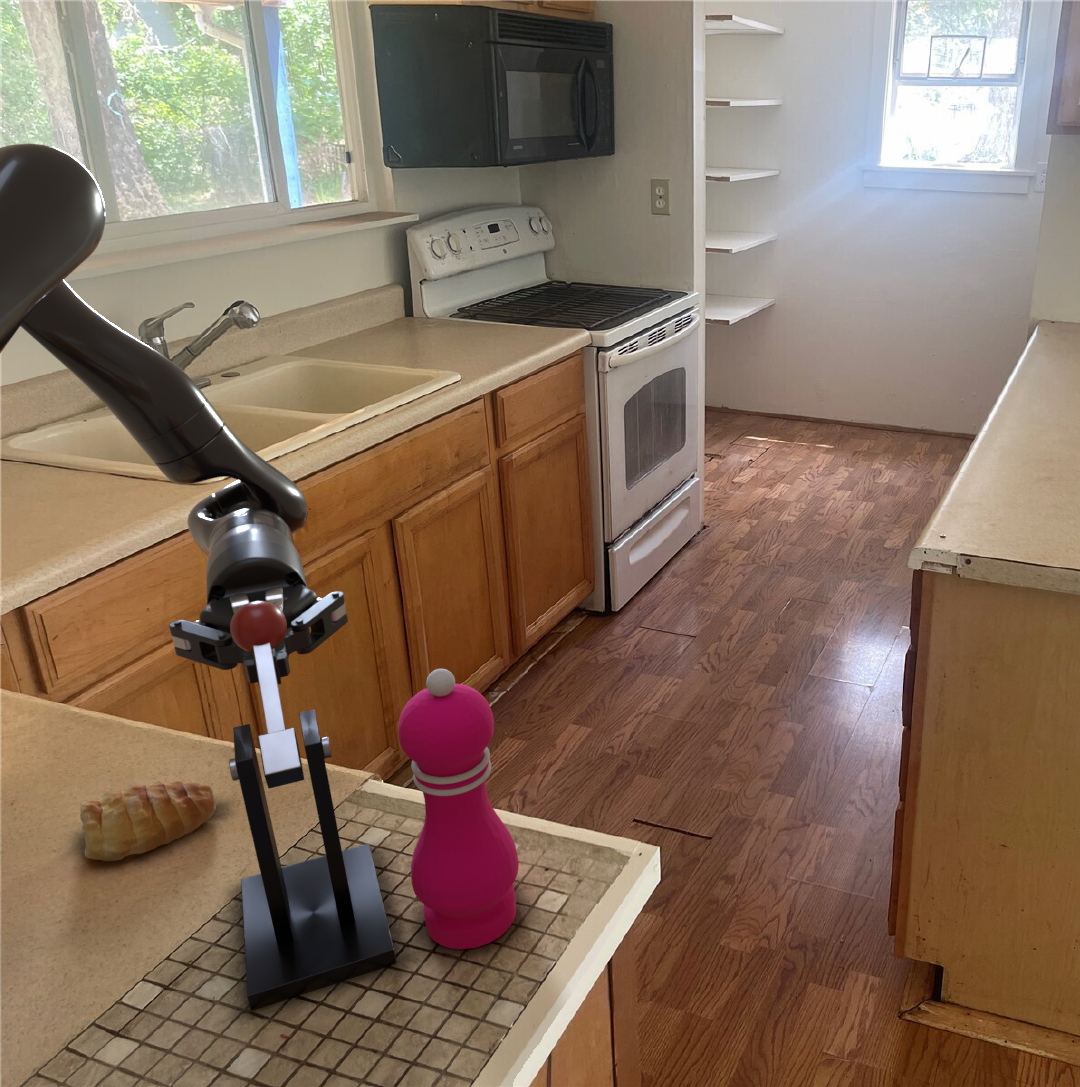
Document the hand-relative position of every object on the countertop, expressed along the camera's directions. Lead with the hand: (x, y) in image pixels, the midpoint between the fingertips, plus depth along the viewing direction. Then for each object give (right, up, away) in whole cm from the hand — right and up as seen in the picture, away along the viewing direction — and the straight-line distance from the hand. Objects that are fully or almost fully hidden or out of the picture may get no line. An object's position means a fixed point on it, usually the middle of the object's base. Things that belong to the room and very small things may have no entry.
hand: (268, 674), depth 71 cm
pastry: (-14, -14, +10) cm, 23 cm away
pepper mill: (+14, -18, +1) cm, 22 cm away
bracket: (+3, -18, 0) cm, 18 cm away
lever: (+1, -2, -1) cm, 2 cm away
